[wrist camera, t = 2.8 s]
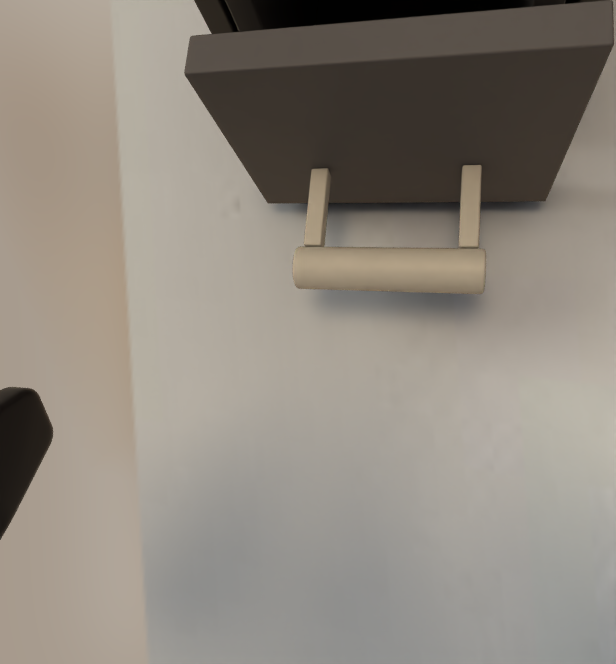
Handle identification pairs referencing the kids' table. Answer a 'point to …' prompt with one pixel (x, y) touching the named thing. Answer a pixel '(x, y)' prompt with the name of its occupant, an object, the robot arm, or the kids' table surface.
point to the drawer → (401, 115)
